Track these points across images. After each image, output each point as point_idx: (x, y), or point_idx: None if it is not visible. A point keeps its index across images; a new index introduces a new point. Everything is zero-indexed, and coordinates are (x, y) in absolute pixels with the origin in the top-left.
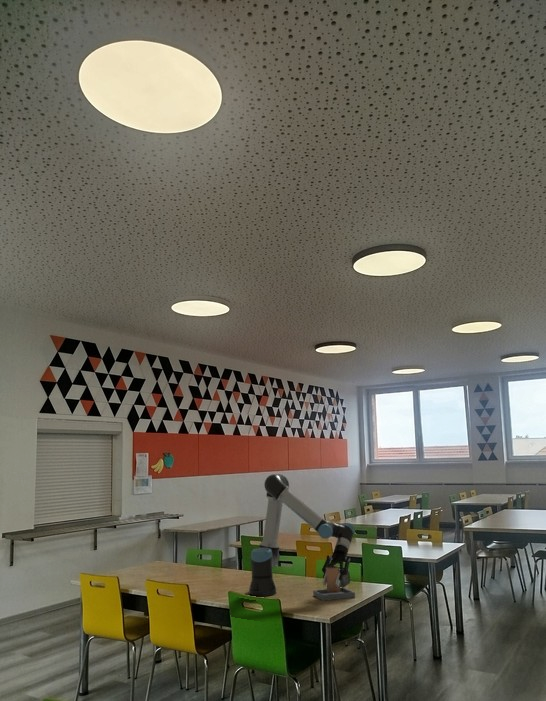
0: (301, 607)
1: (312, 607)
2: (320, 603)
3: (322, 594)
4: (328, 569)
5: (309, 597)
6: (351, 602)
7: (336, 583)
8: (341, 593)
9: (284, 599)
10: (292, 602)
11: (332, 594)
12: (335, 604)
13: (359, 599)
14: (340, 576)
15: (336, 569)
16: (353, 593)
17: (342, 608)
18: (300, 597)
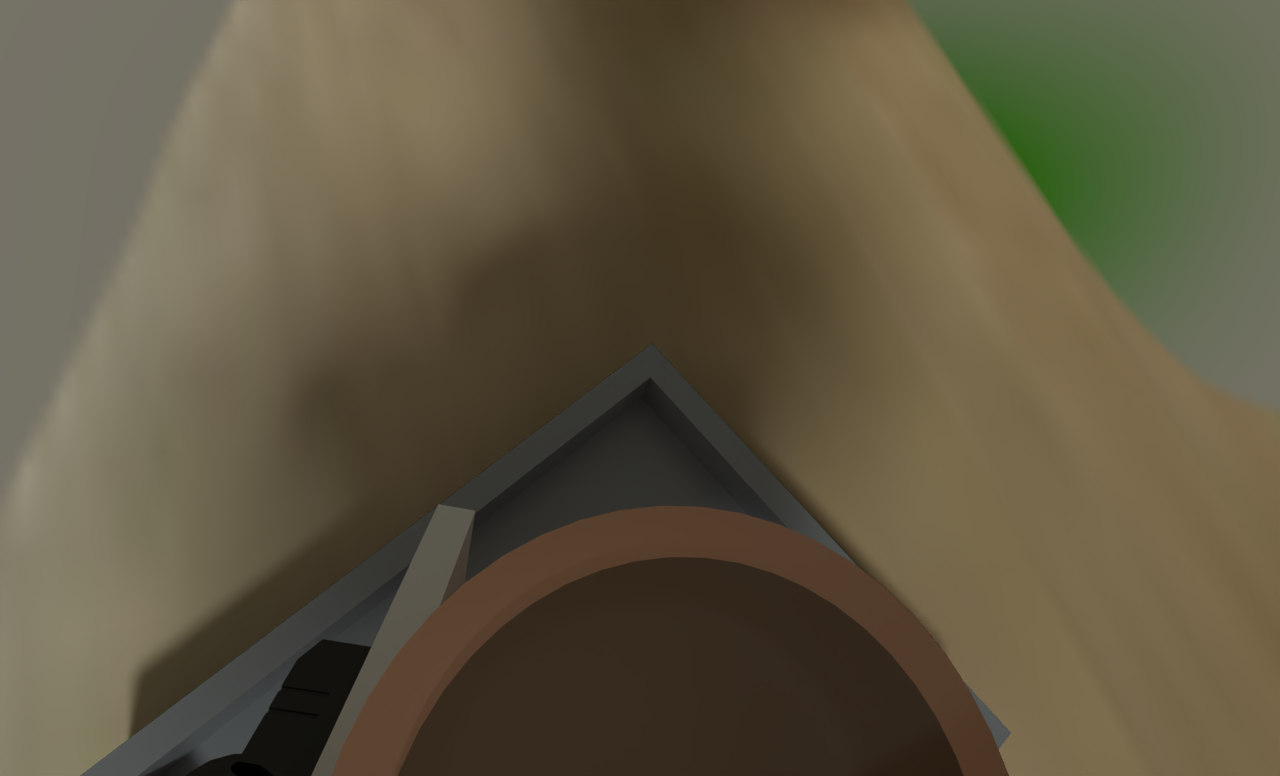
0: (767, 33)
1: (649, 43)
2: (629, 228)
3: (699, 423)
4: (760, 529)
5: (944, 562)
6: (169, 355)
7: (438, 504)
8: (370, 585)
9: (1174, 362)
10: (987, 227)
11: (525, 456)
12: (406, 204)
13: (21, 614)
14: (310, 713)
15: (408, 657)
16: (113, 755)
17: (266, 31)
18: (1064, 529)
